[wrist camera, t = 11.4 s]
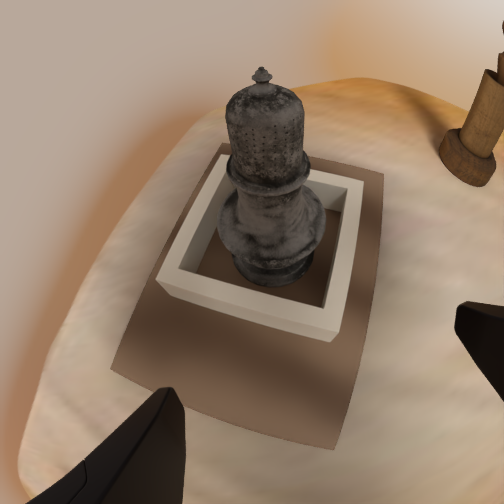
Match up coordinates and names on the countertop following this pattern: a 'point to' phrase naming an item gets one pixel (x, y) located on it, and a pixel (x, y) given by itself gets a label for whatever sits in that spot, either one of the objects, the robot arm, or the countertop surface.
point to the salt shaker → (269, 187)
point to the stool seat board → (261, 314)
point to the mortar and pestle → (478, 132)
